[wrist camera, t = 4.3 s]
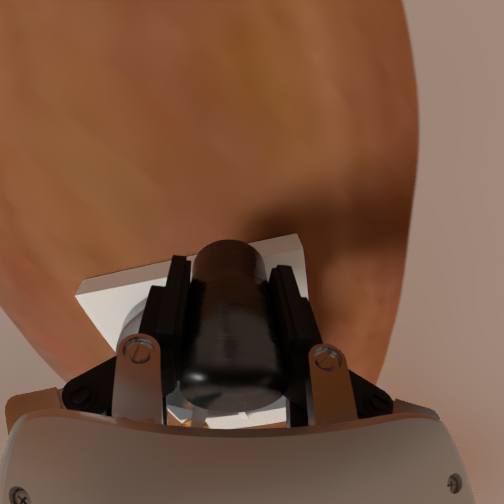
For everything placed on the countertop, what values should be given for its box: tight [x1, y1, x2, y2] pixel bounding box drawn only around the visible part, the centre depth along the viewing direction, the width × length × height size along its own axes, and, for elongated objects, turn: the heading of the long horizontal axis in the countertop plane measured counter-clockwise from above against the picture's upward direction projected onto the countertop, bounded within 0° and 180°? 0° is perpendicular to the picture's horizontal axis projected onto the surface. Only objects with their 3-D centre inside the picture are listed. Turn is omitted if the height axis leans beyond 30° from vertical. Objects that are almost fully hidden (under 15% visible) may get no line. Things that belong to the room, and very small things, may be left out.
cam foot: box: [116, 240, 288, 428], centre depth 15 cm, size 19×11×7 cm, turn 166°
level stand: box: [75, 233, 309, 429], centre depth 20 cm, size 20×13×2 cm, turn 11°
